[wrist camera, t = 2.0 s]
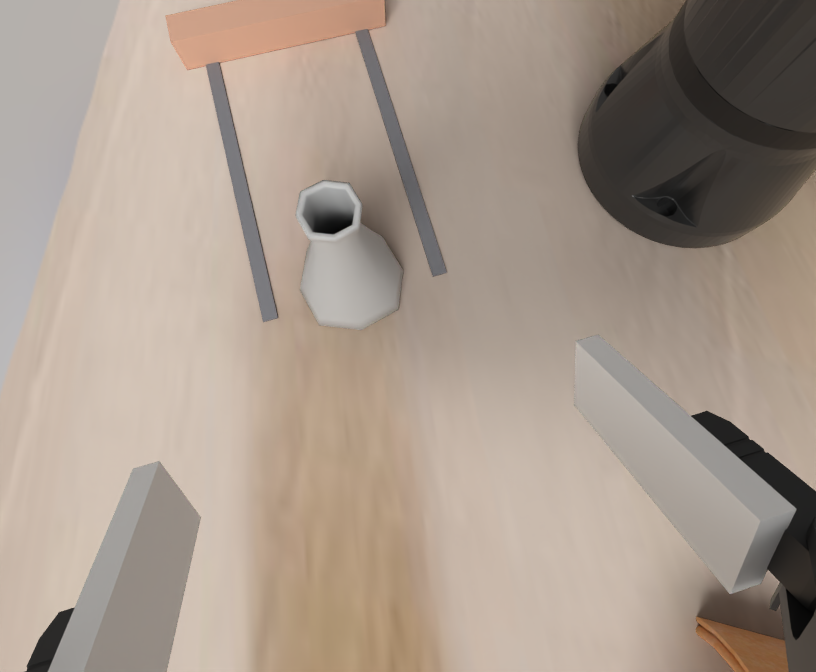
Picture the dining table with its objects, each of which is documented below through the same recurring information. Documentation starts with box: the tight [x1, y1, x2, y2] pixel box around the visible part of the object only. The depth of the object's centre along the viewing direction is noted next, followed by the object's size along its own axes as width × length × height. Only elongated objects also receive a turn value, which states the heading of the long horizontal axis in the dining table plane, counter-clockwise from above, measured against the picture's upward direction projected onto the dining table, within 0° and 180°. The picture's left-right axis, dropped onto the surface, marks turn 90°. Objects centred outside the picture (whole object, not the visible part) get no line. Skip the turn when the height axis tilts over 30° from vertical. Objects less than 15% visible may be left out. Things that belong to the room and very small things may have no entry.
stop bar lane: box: [166, 0, 447, 322], centre depth 31 cm, size 16×24×2 cm
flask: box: [296, 180, 403, 330], centre depth 26 cm, size 7×7×10 cm
